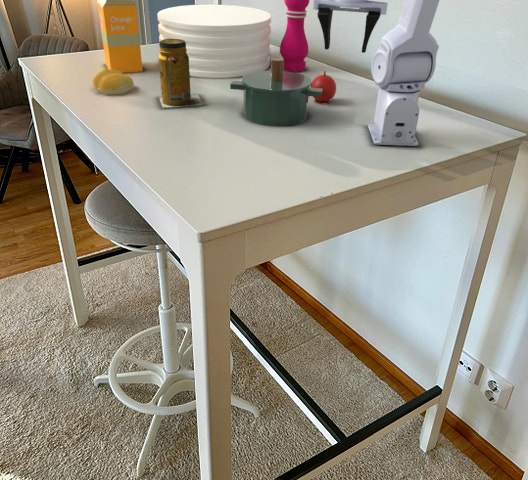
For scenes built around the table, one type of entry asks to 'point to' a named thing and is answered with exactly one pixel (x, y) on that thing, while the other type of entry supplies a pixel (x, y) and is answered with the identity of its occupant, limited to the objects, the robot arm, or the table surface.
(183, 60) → the condiment
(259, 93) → the pot
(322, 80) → the apple
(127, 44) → the orange juice
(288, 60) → the pepper mill
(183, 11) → the plate stack
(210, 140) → the table surface
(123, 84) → the bread roll
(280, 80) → the lid
